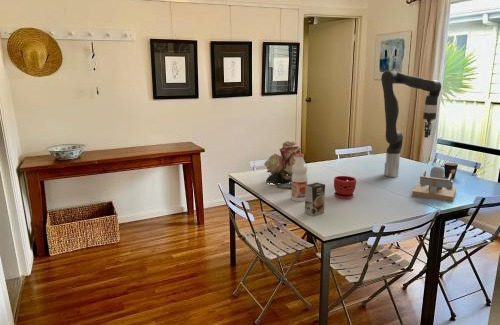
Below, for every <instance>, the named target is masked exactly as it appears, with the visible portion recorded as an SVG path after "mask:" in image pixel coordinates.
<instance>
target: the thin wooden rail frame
mask: <svg viewBox="0 0 500 325" xmlns="http://www.w3.org/2000/svg"><path fill="white" fill-rule="evenodd" d="M451 177H452V173H450V175H449V178H443V179H441V178H433V177H430V176H427V170H426V169H425V170H424V171H422V174H421V175H420V176H419V183H420V184H421V185H428V186H436V187H443V188H448V187H449V182H450V181H452V179H451Z"/></svg>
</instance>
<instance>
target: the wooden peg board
mask: <svg viewBox="0 0 500 325" xmlns="http://www.w3.org/2000/svg"><path fill="white" fill-rule="evenodd" d="M440 166H441V165H434V166H433V167H431V169H430V172H429V173H430V174H429V177H433V178H441V179H445V174H444V167H443V166H442V167H440ZM453 184H454V180H451V181H450V182H449V187H448V188H443V187H436V186H428V185H421V184H420V181H419V182H417V184H416V185H415V187H414V188H413V189H412V192H411V193H412V196H413V197H418V198H419V197H420V198H424V199H425V198H426V199H432V200H438V201H444V202H453V201H454V198H455V195H456V192H457V187H455V186H453Z"/></svg>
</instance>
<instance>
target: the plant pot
mask: <svg viewBox="0 0 500 325" xmlns="http://www.w3.org/2000/svg"><path fill="white" fill-rule="evenodd" d="M356 185H357V179H356V178H355V177H353V176H347V175H339V176H338V175H337V176H334V178H333V188H334V191H335V192H334V193H333V194H334V196H335V197H336V198H338V199H342V200H350V199H352V198H354V195H355V194H354V193H355V189H356Z"/></svg>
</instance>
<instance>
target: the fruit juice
mask: <svg viewBox="0 0 500 325" xmlns="http://www.w3.org/2000/svg"><path fill="white" fill-rule="evenodd" d="M304 160H305V154H304V153H301V152H300V153H299V154H296V161H295V164H294V165H293V166H292V172H293V174H292V182H291V183H292V186H291V188H290V190H291V200H292V201H294V202H305V193H306V185H308V175H307V172H308V166H307V164H306V163H304Z"/></svg>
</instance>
